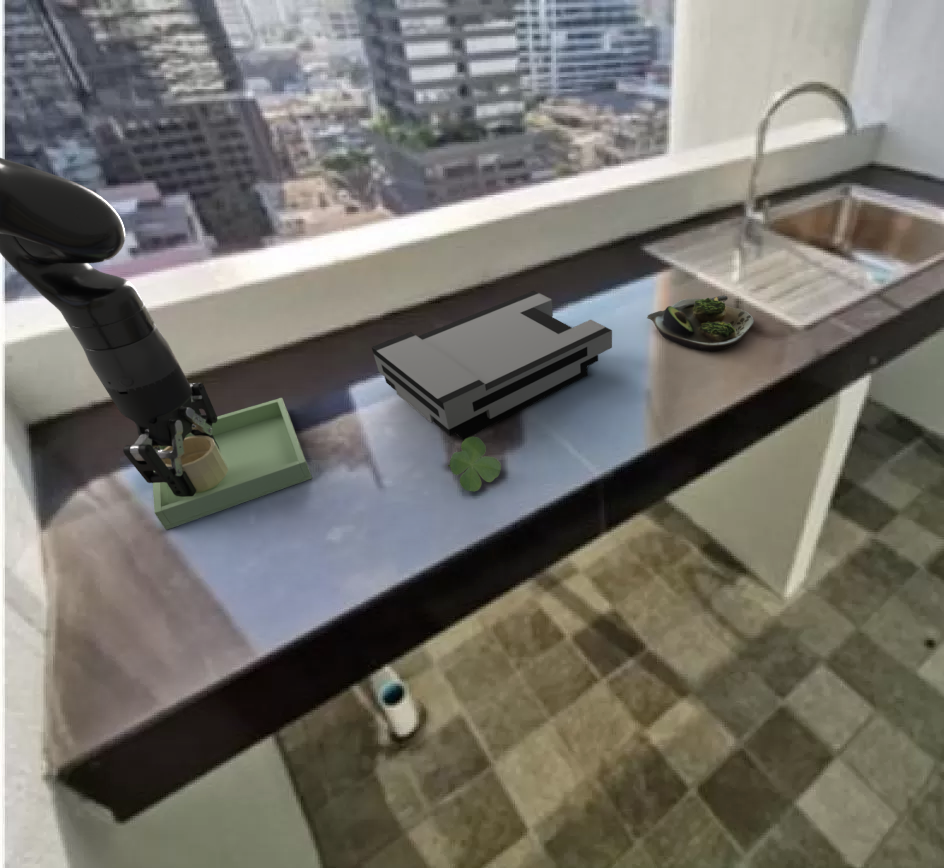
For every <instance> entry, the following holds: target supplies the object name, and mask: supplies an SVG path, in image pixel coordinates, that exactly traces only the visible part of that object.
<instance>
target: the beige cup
mask: <svg viewBox="0 0 944 868" xmlns="http://www.w3.org/2000/svg"><path fill="white" fill-rule="evenodd" d="M183 446H184V455H183V456H182V457H181V460H182V467H183V471H185V472H186V474H187V475H188V477H189V479H190V480H191V482H192V484H193V485H194V487H195V489H196V493H200V492H204V491H207V490H209V489H211V488H213V487H215V486H216V485H218V484H219V483H220V482H221V481H222V480H223V478H224V477H225V476H226V474H227V472H228V467H227V464H226V462H225V460H224V458H223V456H222V454H221V453H220V451H219V449H218V447H217V445H216V443H215V441H214V440H213V439H212V438H210V437H209V436H203V435H198V436H190V437H186V438H185V439H184V441H183ZM168 450H173V447H172V446H168V447H166V448H165V449H164V450H163V451H168ZM165 462H166V466H167V467H172V465H171V460H170V459H169V458H165Z"/></svg>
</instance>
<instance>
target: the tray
mask: <svg viewBox="0 0 944 868" xmlns="http://www.w3.org/2000/svg"><path fill="white" fill-rule="evenodd" d="M211 427H212V428H213V434H212V435H213V437H214V439H215V441H216V442H217V444H218V446H219V450H220V452H221V454H222V456H223V458H224V460H225V462H226V464H227V467H228V472H227V474H226V476H225V477H224V478H223V480H222V481H221V482H220V483H219V484H218V485H216V486H215V487H213V488H211V489H209V490H207V491H204V492H200V493H195V494H194V495H193V496H189V497H180V496H176V495H174V494H173V492H172V490H171V488H170V487H169V486H168V484H167V483H165V482H162V483H152V494H153V495H152V497H153V510H154V511H153V513H154V515H155V516H156V518H157V519H158V521H159V522H160V523H161V525H162V527H163V528H164V530H165V531H168V530H170V529H173V528H176V527H178V526H182V525H185V524H188V523H190V522H193V521H197V520H198V519H201V518H204V517H207V516H211V515H213V514H216V513H219V512H221V511H224V510H227V509H230V508H233V507H235V506H238V505H242V504H244V503H247V502H250V501H252V500H253V501H254V500H255V499H258V498H262V497H264V496H268V495H270V494H273V493H275V492H279V491H281V490H283V489H287V488H289V487H292V486H295V485H298V484H301V483H304V482H306V481H309V480H312V479H313V476H312V473H311V471H310V470H311V469H310V468H309V465H308V462H307V460H306V457H305V454H304V452H303V448H302V446H301V443H300V441H299V438H298V435H297V433H296V430H295V427H294V424H293V421H292V419H291V416H290V414H289V411H288V409H287V405H286V404H285V402H284V399H283V397H279V398H277V399H272V400H269V401H264V402H262V403H259V404H256V405H252V406H248V407H245V408H242V409H238V410H234V411H231V412H228V413H225V414H222V415H221V414H220V415H217V422H216V423H212V426H211ZM190 436H191V435H190V434H188V435H186V437H190ZM186 437H185V438H186ZM159 447H160V449H161V450H164V449H165V448H166V447H168V446H159ZM154 472H155V471H154Z"/></svg>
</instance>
